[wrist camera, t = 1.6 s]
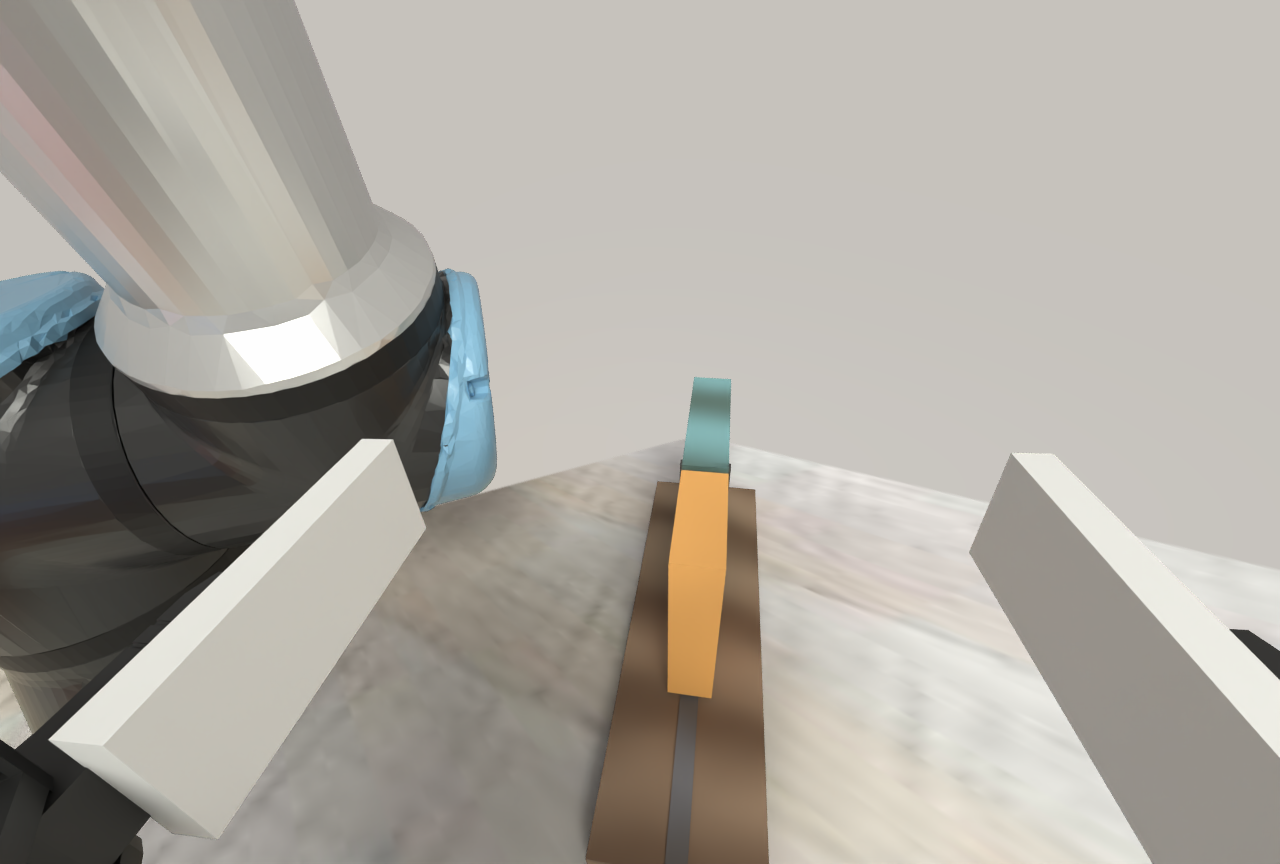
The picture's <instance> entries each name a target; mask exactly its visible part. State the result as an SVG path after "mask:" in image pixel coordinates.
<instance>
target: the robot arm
mask: <svg viewBox="0 0 1280 864" xmlns="http://www.w3.org/2000/svg"><path fill="white" fill-rule="evenodd" d="M0 172H1V173H2V174H3V175H4V176H5V177H6V178H7V179H8V180H9V181H10V182H11V184H12V185H13V186H14V187H15V188H16V189H17V190H18V191H19V192H20V193H21V194H22V195H23V196H24V197H25V198H26V199H27V200H28V201H29V202H30V203H31V204H32V206H33V207H34V208H35V209H36V210H37V211H38V212H39V213H40V214H41V215H42V216H43V217H44V218H45V219H46V220H47V221H48V222H49V223H50V224H51V225H52V227H53V228H54V229H56V231H57V232H58V233H59V234H60V235H61V236H62V237H63V238H64V239H65V240H66V241H67V242H68V243H69V244H70V245H71V246H72V247H73V248H74V250H75V251H76V252H77V253H78V254H79V255H80V256H81V257H82V258H83V259H84V260H85V261H86V262H87V263H88V264H89V265H90V266H91V267H92V268H93V269H94V271H95V272H97V274H99V276H100V277H101V278H102V279H103V280H104V281H105V282H106V286H105V289H104V288H103V287H101V286H100V285H99V284H98V283H97V282H96V281H95V279H94V278H92V277H91V276H88V275H87V274H84V273H78V272H66V271H55V272H46V273H39V274H33V275H28V276H22V277H18V278H13V279H9V280H4V281H0V668H1V669H2V670H4V672H5V674H6V676H7V678H8V680H9V683H10V685H11V687H12V689H13V692H14V694H15V696H16V698H17V701H18V703H19V705H20V707H21V710H22V712H23V714H24V716H25V719H26V721H27V723H28V726H29V728H30V730H31V732H32V735H31V736H30V737H29V738H28V739H27V740H26V741H24V742H23V743H22V744H21V745H20V746H18V747H17V748H16V749H13V748H12V747H10V746H9V745H7V744H6V743H5V742H3V741H2V740H0V864H142V858H143V847H142V839H141V838H139V837H138V836H137V835H136V834H137V833H138V832H139V830H140V829H141V828H142V827H143V825H144V824H145V823H146V821H147V820H148V819H149V818H150V817H151V818H153V819H154V820H155V821H157V822H158V823H159V824H161V825H162V826H163V827H165V828H166V829H167V830H169V831H170V832H171V833H173V834H178V835H186V836H194V837H201V838H209V839H216V840H218V839H219V838H220V836H221V835H222V833H223V832H224V830H225V829H226V827H227V826H228V824H229V823H230V821H231V820H232V818H233V817H234V815H235V814H236V812H237V811H238V809H239V808H240V806H241V805H242V803H243V802H244V800H245V799H246V797H247V796H248V794H249V793H250V791H251V790H252V788H253V787H254V785H255V784H256V782H257V781H258V779H259V778H260V776H261V775H262V773H263V772H264V770H265V769H266V767H267V766H268V764H269V763H270V761H271V760H272V758H273V757H274V755H275V754H276V752H277V751H278V750H279V748H280V747H281V745H282V744H283V742H284V741H285V739H286V738H287V736H288V735H289V733H290V732H291V730H292V729H293V727H294V726H295V724H296V723H297V721H298V720H299V718H300V717H301V715H302V714H303V712H304V711H305V709H306V708H307V706H308V705H309V703H310V702H311V700H312V699H313V697H314V696H315V694H316V693H317V691H318V690H319V688H320V687H321V685H322V684H323V682H324V681H325V679H326V678H327V676H328V675H329V673H330V672H331V670H332V669H333V667H334V666H335V664H336V663H337V661H338V660H339V658H340V657H341V655H342V654H343V652H344V651H345V649H346V648H347V646H348V645H349V643H350V642H351V640H352V639H353V637H354V636H355V634H356V633H357V631H358V630H359V628H360V627H361V625H362V624H363V622H364V621H365V619H366V618H367V616H368V615H369V613H370V612H371V610H372V609H373V607H374V606H375V604H376V603H377V601H378V600H379V598H380V597H381V595H382V594H383V592H384V591H385V589H386V588H387V586H388V585H389V583H390V582H391V580H392V579H393V577H394V576H395V574H396V573H397V571H398V570H399V568H400V567H401V565H402V564H403V562H404V561H405V560H406V558H407V557H408V555H409V554H410V552H411V551H412V549H413V548H414V546H415V545H416V543H417V542H418V540H419V539H420V537H421V536H422V534H423V533H424V531H425V530H426V526H425V523H424V520H423V518H422V515H421V512H423V511H429V510H431V509H432V508H434V507H435V505H438V504H442V503H446V502H450V501H454V500H458V499H462V498H466V497H469V496H473V495H476V494H478V493H480V492H481V491H482V490H484V489H485V488H486V487H487V486H488V485H489V484H490V483H491V481H492V480H493V478H494V475H495V472H496V467H497V454H496V438H495V427H494V415H493V406H492V397H491V391H490V387H489V382H490V380H489V371H488V357H487V348H486V339H485V332H484V325H483V316H482V309H481V302H480V296H479V289H478V285H477V282H476V280H475V278H474V277H473V276H471V274H468V273H465V272H455V271H454V270H451V269H445V270H443V271H439V272H438V270H437V267H436V263H435V260H434V257H433V254H432V252H431V250H430V248H429V246H428V243H427V241H426V240H425V238H424V236H423V235H422V234H421V233H420V232H419V231H418V230H417V229H416V228H415V227H414V226H413V225H412V224H410V223H409V222H407V221H406V220H405V219H403V218H401V217H399V216H397V215H395V214H394V213H392V212H389V211H387V210H385V209H383V208H381V207H379V206H377V205H375V204H373V203H372V201H371V198H370V196H369V193H368V190H367V188H366V185H365V183H364V180H363V178H362V175H361V172H360V170H359V167H358V164H357V162H356V159H355V157H354V154H353V151H352V149H351V146H350V144H349V141H348V139H347V136H346V133H345V131H344V128H343V126H342V123H341V120H340V118H339V115H338V113H337V110H336V107H335V105H334V102H333V100H332V98H331V94H330V92H329V89H328V87H327V84H326V82H325V79H324V76H323V74H322V71H321V69H320V66H319V63H318V61H317V59H316V56H315V53H314V50H313V48H312V46H311V43H310V40H309V37H308V35H307V32H306V30H305V27H304V25H303V22H302V19H301V17H300V14H299V12H298V9H297V6H296V4H295V1H294V0H0ZM969 553H970V555H971V556H972V558H973V560H974V561H975V563H976V565H977V567H978V568H979V570H980V572H981V573H982V575H983V577H984V578H985V580H986V582H987V583H988V585H989V587H990V589H991V590H992V592H993V594H994V595H995V597H996V599H997V600H998V602H999V604H1000V606H1001V607H1002V609H1003V611H1004V612H1005V614H1006V616H1007V617H1008V619H1009V621H1010V623H1011V624H1012V626H1013V628H1014V629H1015V631H1016V633H1017V634H1018V636H1019V638H1020V639H1021V641H1022V643H1023V645H1024V646H1025V648H1026V650H1027V651H1028V653H1029V655H1030V656H1031V658H1032V660H1033V662H1034V663H1035V665H1036V667H1037V668H1038V670H1039V672H1040V673H1041V675H1042V677H1043V678H1044V680H1045V682H1046V684H1047V685H1048V687H1049V689H1050V690H1051V692H1052V694H1053V695H1054V697H1055V699H1056V701H1057V702H1058V704H1059V706H1060V707H1061V709H1062V711H1063V712H1064V714H1065V716H1066V717H1067V719H1068V721H1069V723H1070V724H1071V726H1072V728H1073V729H1074V731H1075V733H1076V734H1077V736H1078V738H1079V740H1080V741H1081V743H1082V745H1083V746H1084V748H1085V750H1086V751H1087V753H1088V755H1089V757H1090V758H1091V760H1092V762H1093V763H1094V765H1095V767H1096V768H1097V770H1098V772H1099V773H1100V775H1101V777H1102V779H1103V780H1104V782H1105V784H1106V785H1107V787H1108V789H1109V790H1110V792H1111V794H1112V796H1113V797H1114V799H1115V801H1116V802H1117V804H1118V806H1119V807H1120V809H1121V811H1122V812H1123V814H1124V816H1125V818H1126V819H1127V821H1128V823H1129V824H1130V826H1131V828H1132V829H1133V831H1134V833H1135V835H1136V836H1137V838H1138V840H1139V841H1140V843H1141V845H1142V846H1143V848H1144V850H1145V852H1146V853H1147V855H1148V857H1149V858H1150V860H1151V862H1152V863H1153V864H1280V651H1279V650H1277V649H1276V648H1274V647H1273V646H1271V645H1270V644H1268V643H1267V642H1265V641H1264V640H1262V639H1261V638H1259V637H1258V636H1256V635H1255V634H1253V633H1252V632H1250V631H1249V630H1236V629H1228V628H1227V627H1226V626H1225V625H1224V624H1223V623H1222V622H1221V621H1220V620H1219V619H1218V618H1217V617H1216V616H1215V615H1214V614H1213V613H1212V612H1211V611H1210V610H1209V609H1208V608H1207V607H1206V606H1205V605H1204V604H1203V603H1202V602H1201V601H1200V600H1199V599H1198V598H1197V597H1196V596H1195V595H1194V594H1193V593H1192V592H1191V591H1190V590H1189V589H1188V588H1187V587H1186V586H1185V585H1184V584H1183V583H1182V582H1181V581H1180V580H1179V579H1178V578H1177V577H1176V576H1175V575H1174V574H1173V573H1172V572H1171V571H1170V570H1169V569H1168V568H1167V567H1166V566H1165V565H1164V564H1163V563H1162V562H1161V561H1160V560H1159V559H1158V558H1157V557H1156V556H1155V555H1154V554H1153V553H1152V552H1151V551H1150V550H1149V549H1148V548H1147V547H1146V546H1145V545H1144V544H1143V543H1142V542H1141V541H1140V540H1139V539H1138V538H1137V537H1136V536H1135V535H1134V534H1133V533H1132V532H1131V531H1130V530H1129V529H1128V528H1127V527H1126V526H1125V525H1124V524H1123V523H1122V522H1121V521H1120V520H1119V519H1118V518H1117V517H1116V516H1115V515H1114V514H1113V513H1112V512H1111V511H1110V510H1109V509H1108V508H1107V507H1106V506H1105V505H1104V504H1103V503H1102V502H1101V501H1100V500H1099V499H1098V498H1097V497H1096V496H1095V495H1094V494H1093V493H1092V492H1091V491H1090V490H1089V489H1088V488H1087V487H1086V486H1085V485H1084V484H1083V483H1082V482H1081V481H1080V480H1079V479H1078V478H1077V477H1076V476H1075V475H1074V474H1073V473H1072V472H1071V471H1070V470H1069V469H1068V468H1067V467H1066V466H1065V465H1064V464H1063V463H1062V462H1061V461H1060V460H1059V459H1058V458H1057V457H1056V456H1055V455H1054V454H1036V453H1035V454H1033V453H1011V454H1010V457H1009V459H1008V462H1007V464H1006V466H1005V469H1004V471H1003V473H1002V476H1001V478H1000V480H999V483H998V485H997V488H996V490H995V492H994V495H993V497H992V500H991V502H990V504H989V506H988V509H987V511H986V513H985V516H984V518H983V521H982V523H981V525H980V528H979V530H978V532H977V535H976V537H975V540H974V542H973V544H972V547H971V549H970V551H969Z"/></svg>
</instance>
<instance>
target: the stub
mask: <svg viewBox="0 0 1280 864" xmlns="http://www.w3.org/2000/svg"><path fill="white" fill-rule="evenodd" d="M728 480H729V474H726V473H713V472H701V471H689V470H681V477H680V484H679V491H678V498H677V506H676V513H675V520H674V527H673V534H672V542H671V549H670V556H669V564H668V692H670V693H677V694H684V695H691V696H698V697H705V698H712V689H713V680H714V671H715V663H716V654H717V645H718V637H719V628H720V619H721V611H722V602H723V593H724V585H725V576H726V560H727V520H728Z"/></svg>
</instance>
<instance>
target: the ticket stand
mask: <svg viewBox="0 0 1280 864" xmlns="http://www.w3.org/2000/svg"><path fill="white" fill-rule="evenodd" d="M730 397H731V379H716V378H697V377H694V383H693V391H692V398H691V405H690V412H689V420H688V427H687V434H686V441H685V448H684V455H683V460H681V463H680V477H681V470H689V471H701V472H713V473H726V474H729V480H728V520H727V560H726V576H725V585H724V593H723V602H722V611H721V619H720V628H719V637H718V645H717V654H716V663H715V671H714V680H713V689H712V698H705V697H698V696H691V695H684V694H677V693H670V692H668V564H669V556H670V549H671V542H672V534H673V527H674V520H675V513H676V506H677V498H678V491H679V484H680V483H671V482H659V481H658V482H657V487H656V492H655V498H654V503H653V508H652V513H651V519H650V524H649V529H648V534H647V540H646V545H645V550H644V555H643V561H642V566H641V571H640V576H639V581H638V587H637V592H636V597H635V602H634V608H633V613H632V618H631V623H630V629H629V634H628V639H627V644H626V650H625V655H624V660H623V665H622V670H621V676H620V681H619V686H618V691H617V697H616V702H615V707H614V712H613V718H612V723H611V728H610V733H609V739H608V744H607V749H606V754H605V759H604V765H603V770H602V775H601V780H600V786H599V791H598V796H597V801H596V807H595V812H594V817H593V822H592V828H591V833H590V838H589V843H588V848H587V854H586V862H587V864H769V856H768V829H767V802H766V774H765V747H764V720H763V693H762V665H761V638H760V611H759V584H758V556H757V529H756V502H755V490H753V489H742V488H730V487H729V481H730V471H731V464H729V440H730Z"/></svg>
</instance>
